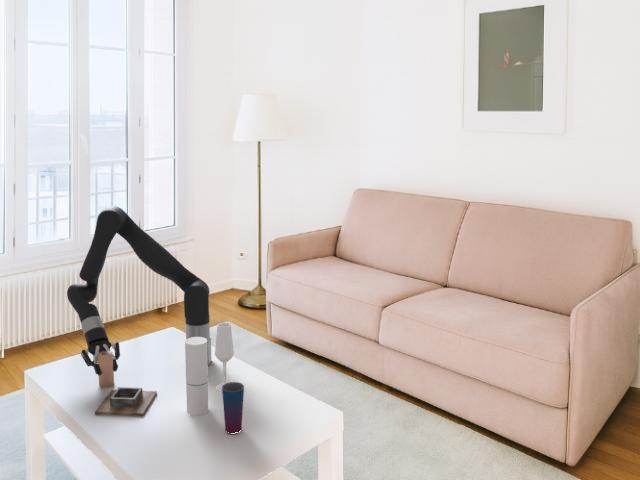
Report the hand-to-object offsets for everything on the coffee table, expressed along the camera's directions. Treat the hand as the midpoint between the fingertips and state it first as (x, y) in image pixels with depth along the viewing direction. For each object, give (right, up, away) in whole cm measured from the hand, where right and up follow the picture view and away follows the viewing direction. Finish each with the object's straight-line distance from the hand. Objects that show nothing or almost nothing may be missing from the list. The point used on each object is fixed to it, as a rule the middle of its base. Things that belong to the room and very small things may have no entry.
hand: (107, 372), depth 227 cm
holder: (+10, -8, -11) cm, 18 cm away
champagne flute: (+42, -6, +3) cm, 42 cm away
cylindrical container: (+35, -10, -15) cm, 39 cm away
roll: (-1, -5, +3) cm, 6 cm away
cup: (+49, -13, -27) cm, 57 cm away
